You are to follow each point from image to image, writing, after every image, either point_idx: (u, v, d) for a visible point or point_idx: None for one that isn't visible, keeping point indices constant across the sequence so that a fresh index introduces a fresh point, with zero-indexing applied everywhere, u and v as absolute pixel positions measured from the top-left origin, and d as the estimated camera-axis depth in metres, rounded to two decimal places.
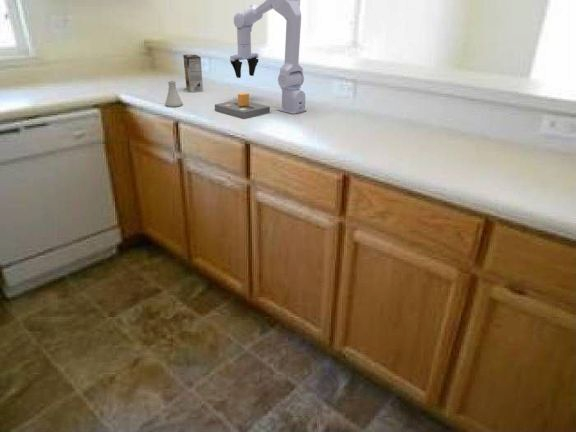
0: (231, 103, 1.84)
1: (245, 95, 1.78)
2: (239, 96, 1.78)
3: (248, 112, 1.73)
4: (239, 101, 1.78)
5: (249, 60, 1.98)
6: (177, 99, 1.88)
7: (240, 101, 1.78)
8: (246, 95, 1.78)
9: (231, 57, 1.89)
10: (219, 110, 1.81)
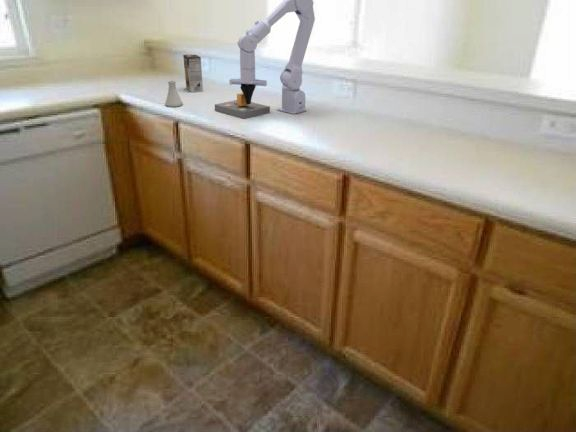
0: (231, 103, 1.84)
1: None
2: (238, 96, 1.78)
3: (248, 112, 1.73)
4: (239, 101, 1.79)
5: None
6: (177, 99, 1.88)
7: (239, 101, 1.78)
8: None
9: None
10: (219, 110, 1.81)
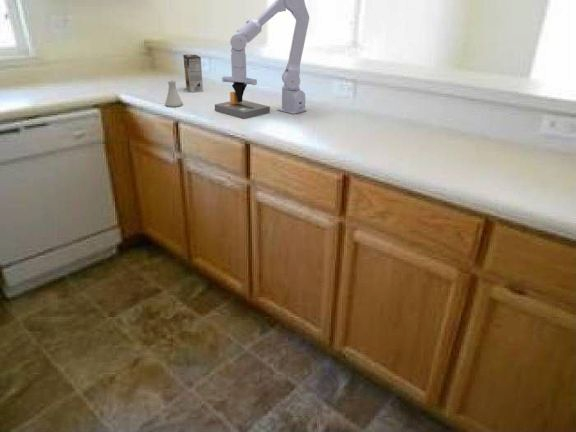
0: None
1: None
2: (231, 94, 1.81)
3: (248, 112, 1.73)
4: (232, 99, 1.81)
5: None
6: (177, 99, 1.88)
7: (232, 99, 1.81)
8: None
9: None
10: (219, 110, 1.81)
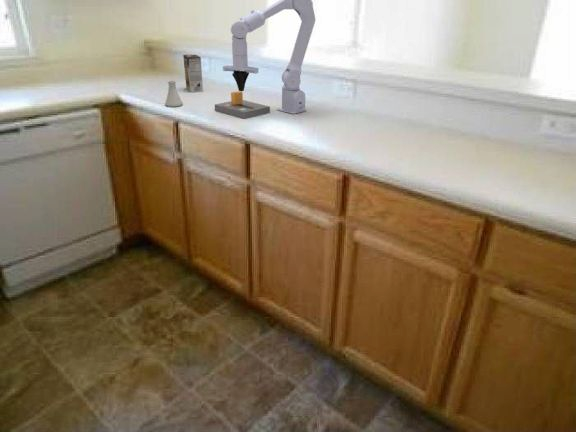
0: None
1: (238, 93, 1.81)
2: (232, 94, 1.80)
3: (248, 112, 1.73)
4: (233, 99, 1.81)
5: None
6: (177, 99, 1.88)
7: (233, 99, 1.81)
8: (239, 93, 1.81)
9: None
10: (219, 110, 1.81)
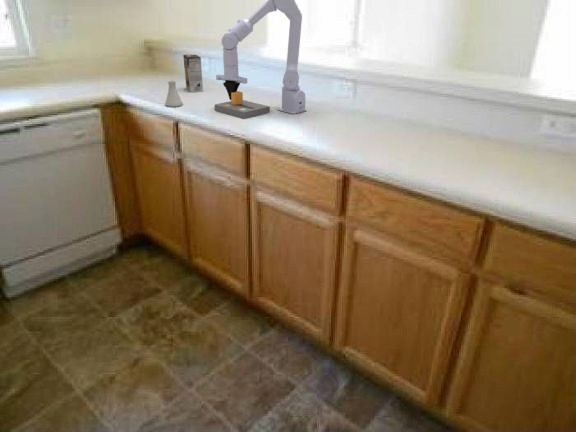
0: (231, 103, 1.84)
1: (238, 93, 1.80)
2: (233, 94, 1.80)
3: (248, 112, 1.73)
4: (233, 99, 1.81)
5: None
6: (177, 99, 1.88)
7: (234, 99, 1.81)
8: (239, 93, 1.81)
9: None
10: (219, 110, 1.81)
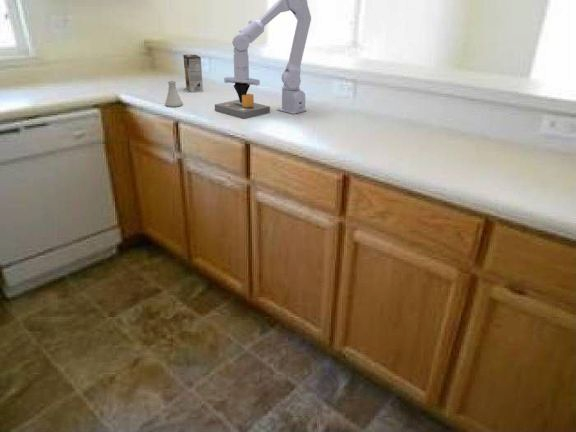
0: (231, 103, 1.84)
1: (249, 96, 1.76)
2: (243, 97, 1.76)
3: (248, 112, 1.73)
4: (244, 102, 1.77)
5: None
6: (177, 99, 1.88)
7: (244, 102, 1.77)
8: (250, 96, 1.77)
9: None
10: (219, 110, 1.81)
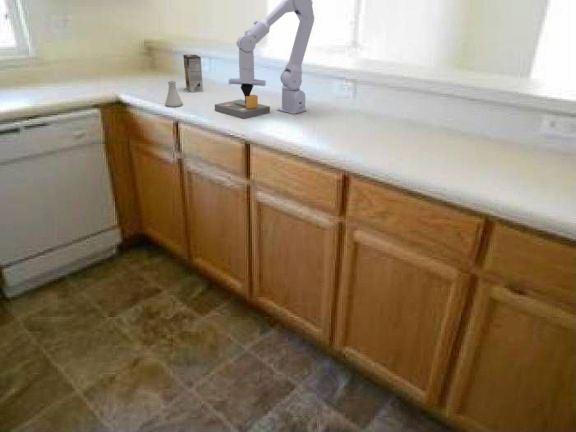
0: (231, 103, 1.84)
1: (253, 97, 1.75)
2: (247, 98, 1.75)
3: (248, 112, 1.73)
4: (248, 103, 1.75)
5: None
6: (177, 99, 1.88)
7: (248, 103, 1.75)
8: (254, 97, 1.75)
9: None
10: (219, 110, 1.81)
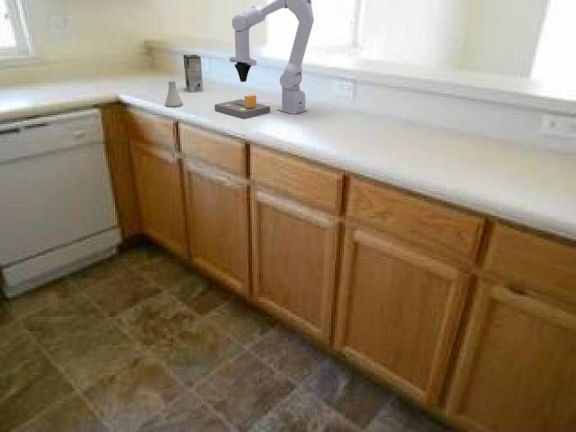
0: (231, 103, 1.84)
1: (252, 97, 1.76)
2: (246, 98, 1.75)
3: (248, 112, 1.73)
4: (246, 103, 1.76)
5: None
6: (177, 99, 1.88)
7: (247, 103, 1.76)
8: (253, 97, 1.76)
9: None
10: (219, 110, 1.81)
